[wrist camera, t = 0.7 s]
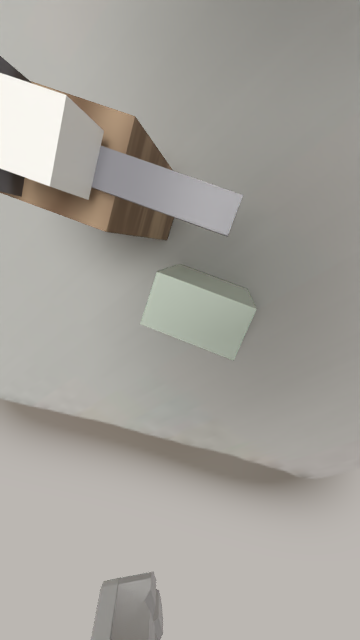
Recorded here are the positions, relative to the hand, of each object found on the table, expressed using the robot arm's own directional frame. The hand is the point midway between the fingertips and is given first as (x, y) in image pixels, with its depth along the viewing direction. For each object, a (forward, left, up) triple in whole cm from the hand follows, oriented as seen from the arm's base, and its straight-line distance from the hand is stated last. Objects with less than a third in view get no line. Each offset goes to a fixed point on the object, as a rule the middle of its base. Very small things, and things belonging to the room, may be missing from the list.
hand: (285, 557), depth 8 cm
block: (-3, -5, -42) cm, 42 cm away
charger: (-17, -5, -17) cm, 24 cm away
